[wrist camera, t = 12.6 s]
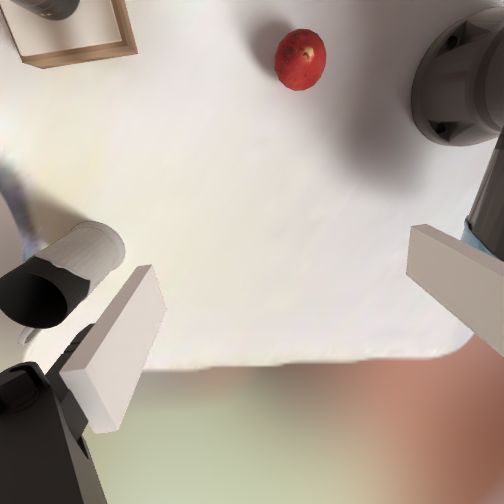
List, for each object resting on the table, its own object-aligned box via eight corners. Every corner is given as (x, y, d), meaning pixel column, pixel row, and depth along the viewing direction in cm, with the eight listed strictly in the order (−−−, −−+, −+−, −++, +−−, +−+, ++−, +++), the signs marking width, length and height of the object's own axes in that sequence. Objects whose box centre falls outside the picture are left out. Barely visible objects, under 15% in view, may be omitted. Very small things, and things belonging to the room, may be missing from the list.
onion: (264, 83, 35) (271, 70, 28) (281, 31, 33) (294, 4, 26) (304, 101, 36) (321, 93, 29) (324, 52, 34) (347, 31, 27)
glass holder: (134, 239, 43) (85, 290, 29) (100, 303, 48) (45, 373, 34) (78, 210, 41) (-2, 251, 27) (49, 281, 45) (-32, 345, 32)
